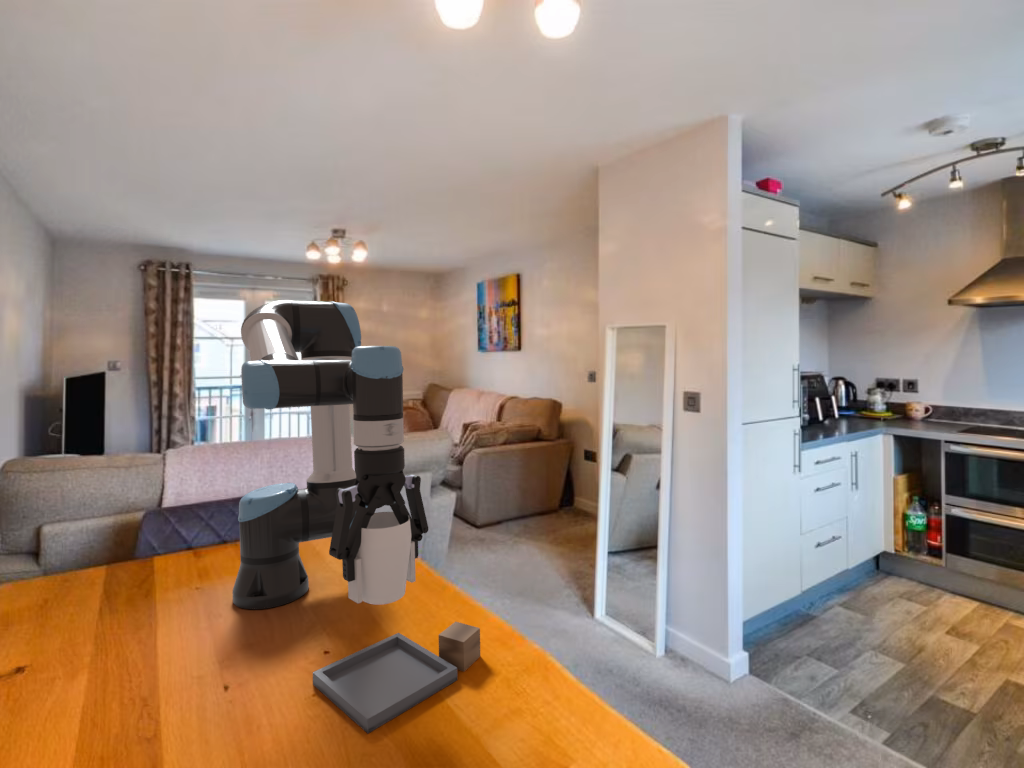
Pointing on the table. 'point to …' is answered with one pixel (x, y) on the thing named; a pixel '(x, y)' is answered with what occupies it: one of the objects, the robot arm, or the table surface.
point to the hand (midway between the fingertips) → (383, 589)
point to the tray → (383, 680)
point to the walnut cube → (460, 645)
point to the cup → (384, 558)
